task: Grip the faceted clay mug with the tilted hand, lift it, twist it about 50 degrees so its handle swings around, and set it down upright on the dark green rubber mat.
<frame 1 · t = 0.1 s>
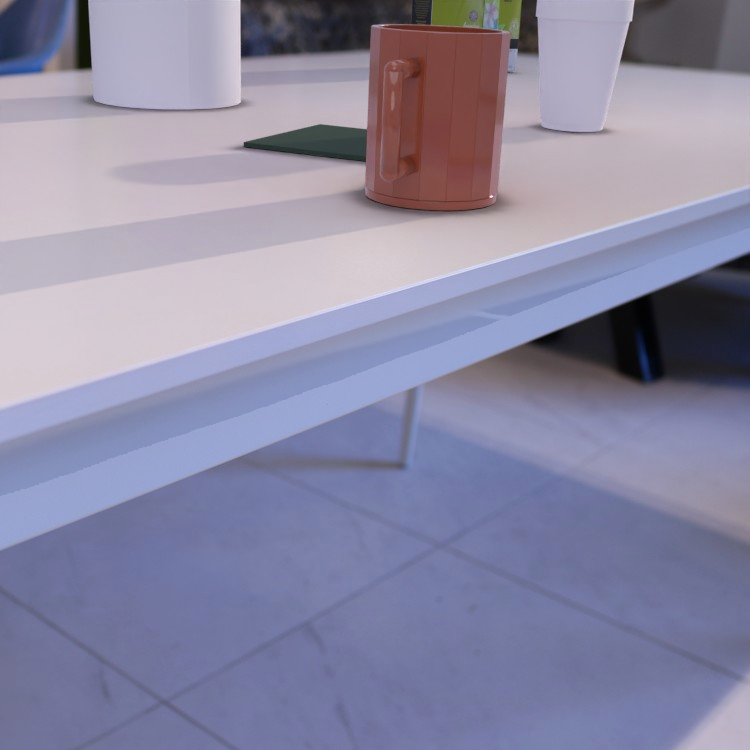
tea box: (461, 70, 170), on the table
canister: (168, 101, 116), on the table
foam cup: (571, 129, 109), on the table
mat: (353, 144, 92), on the table
faceted clay mug: (430, 196, 72), on the table
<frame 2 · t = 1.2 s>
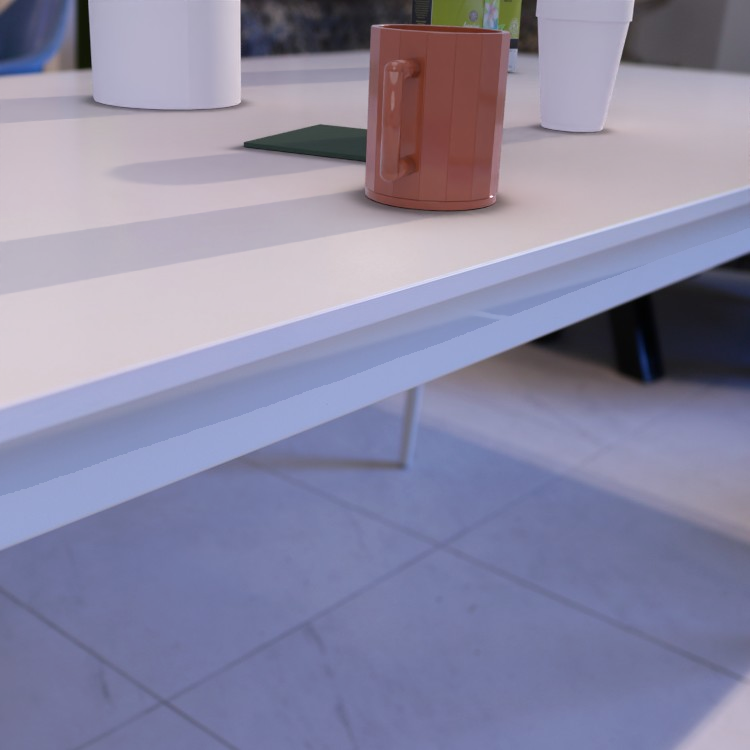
nothing on the table moved.
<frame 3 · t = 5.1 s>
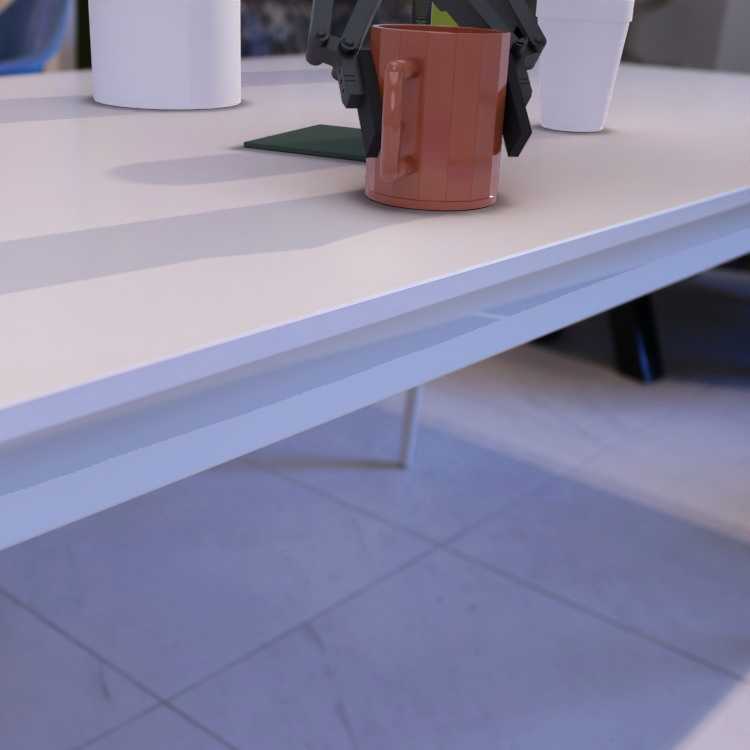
hand: (449, 144, 68), 4 cm above the table, tool tilted 45°, fingers closed on faceted clay mug, 9 cm apart
faceted clay mug: (430, 196, 72), on the table, touching gripper
everything else where it was.
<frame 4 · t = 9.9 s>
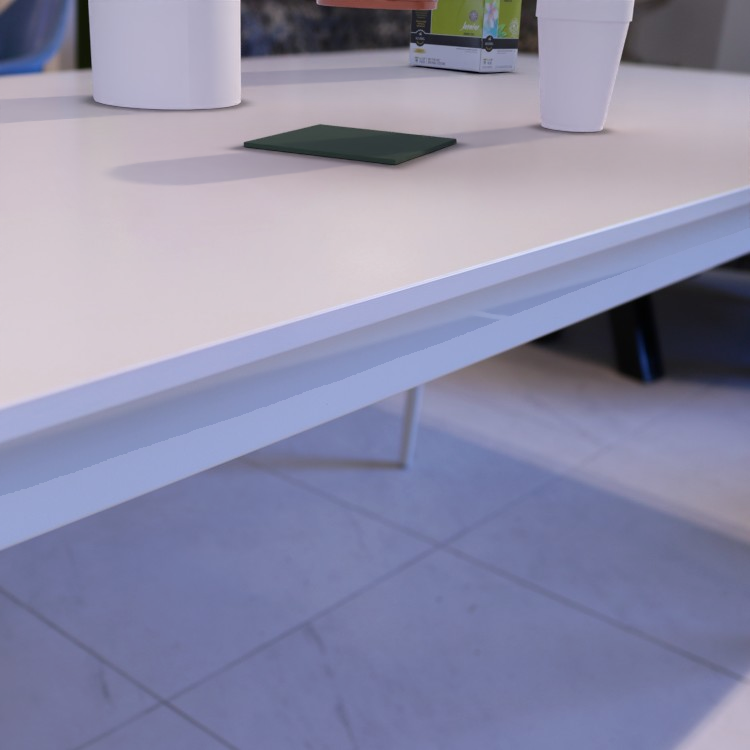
faceted clay mug: (376, 6, 78), point 12 cm above the table, touching gripper
everything else where it was.
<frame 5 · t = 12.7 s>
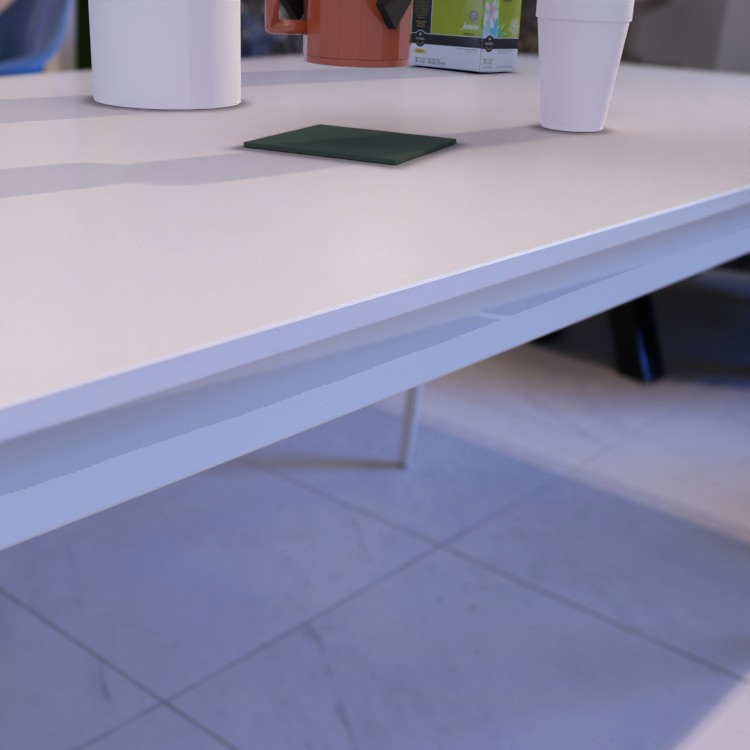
hand: (335, 13, 86), 11 cm above the table, tool tilted 45°, fingers closed on faceted clay mug, 9 cm apart
faceted clay mug: (356, 62, 90), point 7 cm above the table, touching gripper
everything else where it was.
when the fingers open (4 cm above the table, at t = 15.0 s): faceted clay mug stays where it is, resting on mat.
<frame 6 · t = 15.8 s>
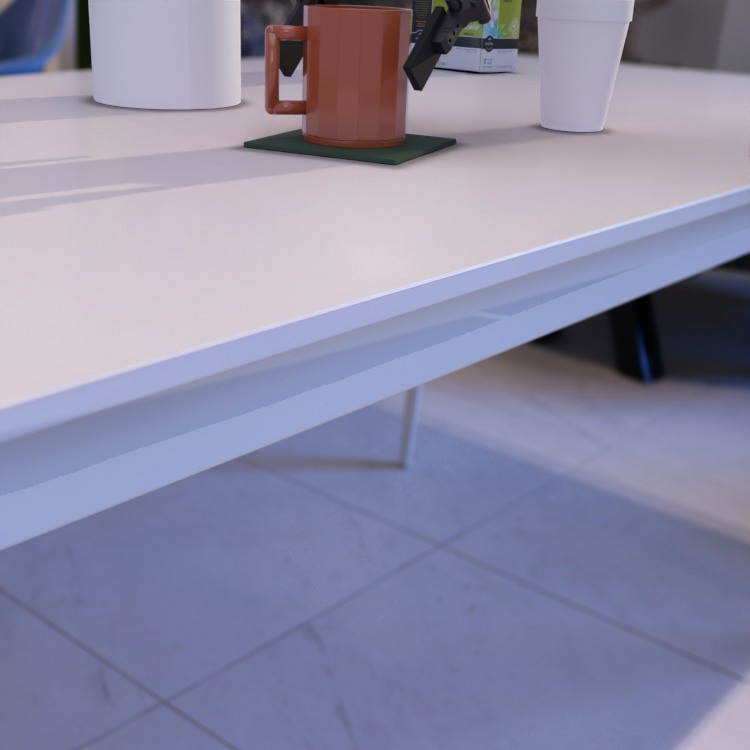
hand: (343, 72, 88), 6 cm above the table, tool tilted 45°, fingers open, 13 cm apart
faceted clay mug: (354, 140, 92), resting on mat
everything else where it was.
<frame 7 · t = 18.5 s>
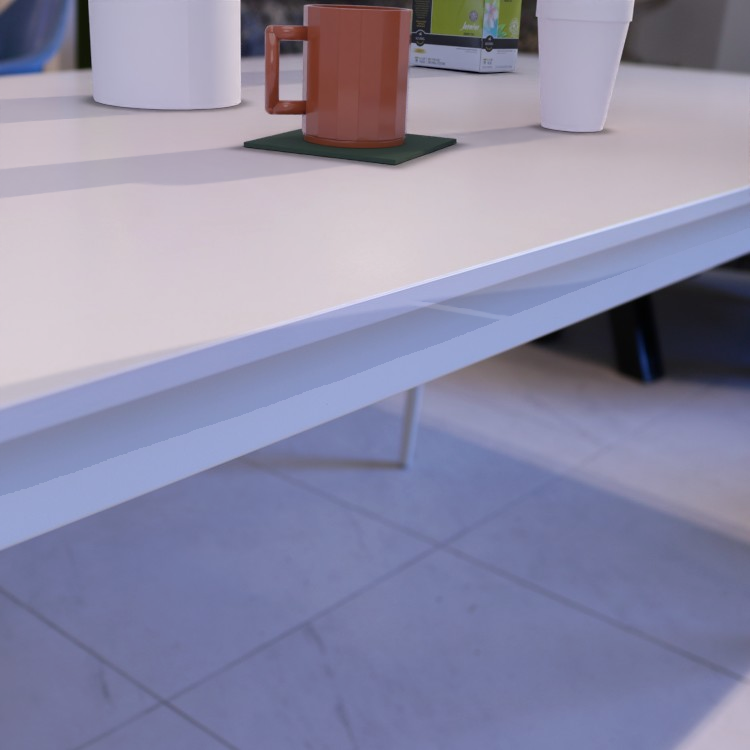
nothing on the table moved.
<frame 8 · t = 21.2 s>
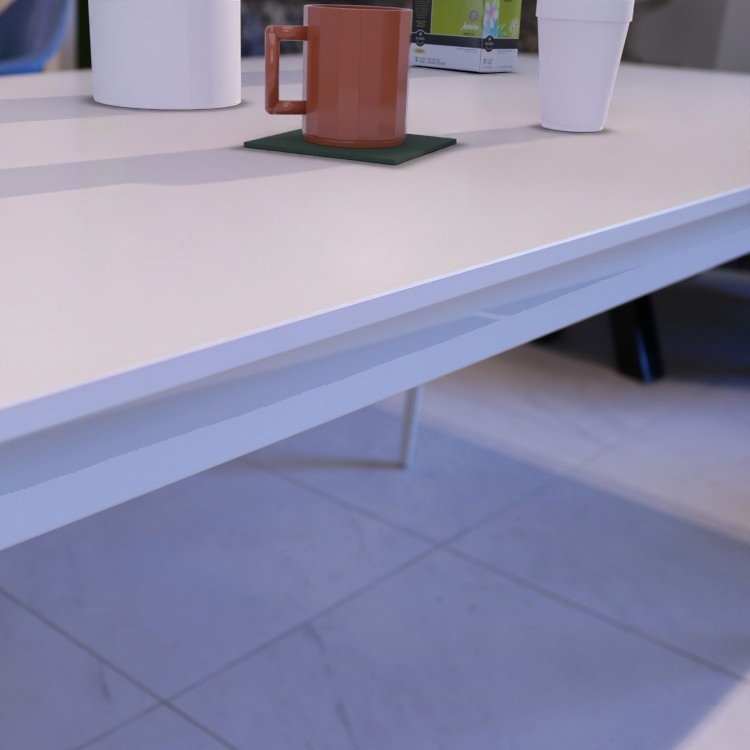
nothing on the table moved.
at the end: faceted clay mug inside the target area on the mat (0.1 cm from its centre), point 0.4 cm above the mat's base; faceted clay mug tilted 0°; faceted clay mug moved 22.1 cm from its start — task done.
